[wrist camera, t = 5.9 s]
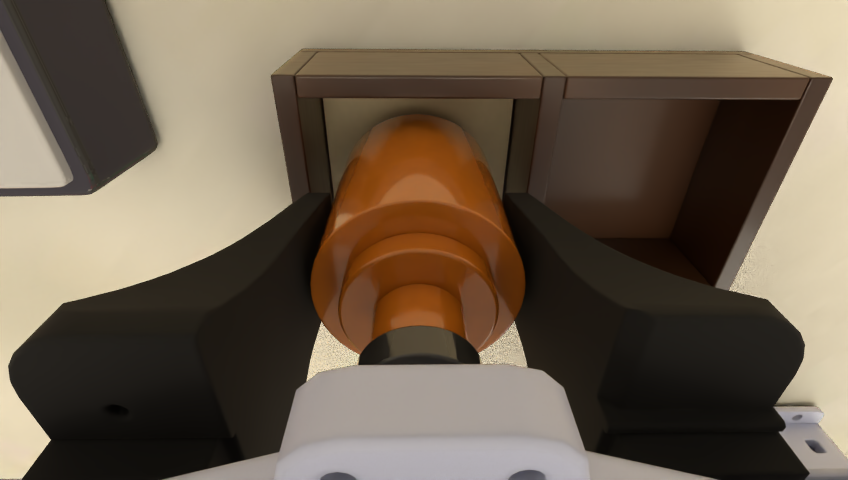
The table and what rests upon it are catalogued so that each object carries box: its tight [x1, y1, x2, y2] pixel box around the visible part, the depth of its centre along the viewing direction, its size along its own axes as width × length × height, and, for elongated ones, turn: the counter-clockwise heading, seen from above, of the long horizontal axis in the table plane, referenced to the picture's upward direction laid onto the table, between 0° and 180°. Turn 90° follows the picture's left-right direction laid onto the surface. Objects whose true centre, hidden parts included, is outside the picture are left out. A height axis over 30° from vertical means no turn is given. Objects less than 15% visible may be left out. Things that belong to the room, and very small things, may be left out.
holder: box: [271, 49, 833, 291], centre depth 15 cm, size 15×8×4 cm, turn 89°
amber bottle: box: [310, 114, 526, 365], centre depth 11 cm, size 5×5×8 cm
